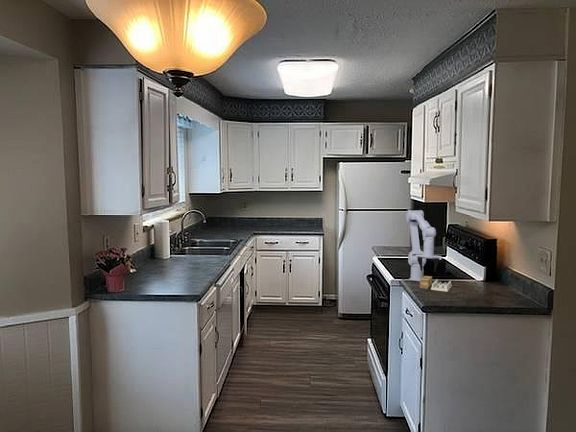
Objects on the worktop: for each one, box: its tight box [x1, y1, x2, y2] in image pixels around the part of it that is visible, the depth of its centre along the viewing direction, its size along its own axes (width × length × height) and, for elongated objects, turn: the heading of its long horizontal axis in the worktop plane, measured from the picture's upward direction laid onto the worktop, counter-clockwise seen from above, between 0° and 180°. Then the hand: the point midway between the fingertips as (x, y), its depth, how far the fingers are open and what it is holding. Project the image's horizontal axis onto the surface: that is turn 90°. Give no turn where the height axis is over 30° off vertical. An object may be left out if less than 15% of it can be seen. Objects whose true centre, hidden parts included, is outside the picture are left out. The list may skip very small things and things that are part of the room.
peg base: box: [430, 278, 453, 293], centre depth 263 cm, size 14×9×3 cm, turn 150°
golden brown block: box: [419, 275, 433, 290], centre depth 267 cm, size 12×4×5 cm, turn 150°
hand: (428, 270), depth 264 cm, fingers open, 7 cm apart
